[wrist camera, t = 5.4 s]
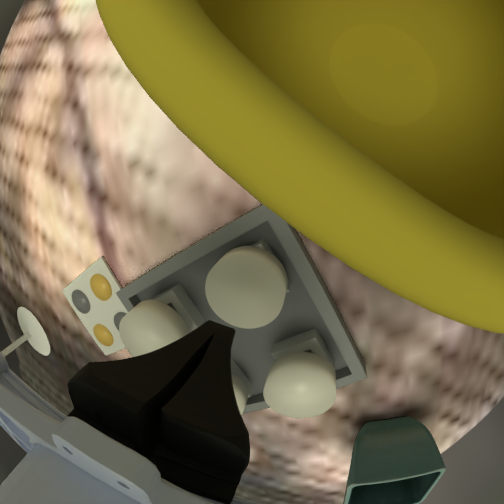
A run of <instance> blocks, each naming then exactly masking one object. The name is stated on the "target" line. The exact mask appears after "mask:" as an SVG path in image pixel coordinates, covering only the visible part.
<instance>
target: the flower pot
mask: <svg viewBox="0 0 504 504" xmlns="http://www.w3.org/2000/svg"><path fill="white" fill-rule="evenodd" d="M445 470H446V467H445V465H444V462H443V460H442V457H441V454H440V452H439V450H438V447H437V445H436V443H435V440H434V438H433V436H432V435H431V433H430V432H429V430H428V429H427V428H426V427H425V426H424V425H423V424H422V423H420V422H419V421H417V420H415V419H414V418H411V417H409V416H407V417H401V418H395V419H388V420H381V421H372V422H367V423H365V425H364V426H363V427H362V429H361V430H360V432H359V433H358V435H357V438H356V440H355V443H354V447H353V452H352V459H351V465H350V470H349V475H348V480H347V486H346V492H345V497H344V502H343V504H418V503H421V502H422V501H423V500H424V499H425V498H426V497H427V495H428V494H429V492H430V491H431V490H432V488H433V487H434V486H435V484H436V483H437V482H438V480H439V479H440V477H441V476H442V475H443V473H444V472H445Z"/></svg>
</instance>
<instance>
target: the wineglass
mask: <svg viewBox="0 0 504 504" xmlns="http://www.w3.org/2000/svg"><path fill="white" fill-rule="evenodd" d="M17 317H18V321H19V325H20V327H21V330H22V332H23V333H24V335H23V336H22V337H20V338H19V339H18V340H16V341H15V342H14V343H12V344H11V345H10V346H8V347H7V348H6V349H4V350H3V351H2V352H1V353H2V354H3V356H4V357H5V356H6V355H7V354H9V353H10V352H12V351H13V350H14V349H15V348H17V347H18V346H19V345H21V344H22V343H23V342H25V341H26V340H28V341H29V343H30V344H31V345H32V346H33V348H34V349H35V350H37V351H38V352H39V353H40V354H42V355H45V356H46V355H49V354H50V345H49V341H48V339H47V336H46V334H45V332H44V330H43V328H42V326H41V325H40V323H39V322H38V320H37V319H36V318H35V316H34V315H33V314H32V313H31V312H30V311H29V310H27V309H26V308H24V307H19V308H18V310H17Z"/></svg>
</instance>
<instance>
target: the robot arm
mask: <svg viewBox="0 0 504 504" xmlns="http://www.w3.org/2000/svg"><path fill="white" fill-rule="evenodd" d="M235 332H236V331H235V329H234V328H231V327H228V326H225V325H222V324H219V323H216V322H214V321H211V320H208V321H206V322H205V323H203V324H202V325H201V326H199V327H198V328H196V329H195V330H193V331H192V332H190V333H188V334H187V335H185V336H183V337H182V338H180V339H178V340H176V341H174V342H172V343H170V344H168V345H166V346H164V347H162V348H160V349H157V350H155V351H152V352H149V353H146V354H143V355H140V356H136V357H132V358H127V359H122V360H116V361H107V362H89V363H88V364H87V365H85V366H84V367H83V368H82V369H81V370H80V371H79V372H78V373H77V374H76V375H75V376H74V377H73V378H72V379H71V380H70V381H69V382H68V389H69V394H70V397H71V400H72V403H73V406H74V409H73V410H72V412H71V413H70V414H69V415H68V416H65V415H64V414H63V413H61V412H60V411H59V410H57V409H56V408H55V407H53V406H52V405H51V404H49V403H48V402H47V401H46V400H44V399H43V398H42V397H41V396H40V395H38V394H37V393H36V392H35V391H34V390H32V389H31V388H30V387H29V386H28V385H27V384H26V383H24V382H23V381H22V380H21V379H20V378H19V377H18V376H17V375H16V374H15V373H13V372H12V371H11V370H10V369H9V368H8V364H7V361H6V359H5V357H4V356H3V354H2V353H1V352H0V425H1V426H2V427H3V428H4V429H5V430H6V432H7V433H8V434H9V435H10V436H11V437H12V438H13V439H14V440H15V441H16V442H17V443H18V444H19V445H20V446H21V447H22V448H23V449H24V450H25V451H26V452H27V453H28V454H27V455H26V456H25V457H24V459H23V460H22V461H21V462H20V463H19V464H18V465H17V467H16V468H15V469H14V470H13V471H12V472H11V474H10V475H9V476H8V477H7V478H6V479H5V481H4V482H3V483H2V484H1V485H0V504H262V503H257V502H253V501H249V500H245V499H241V498H237V497H234V495H235V491H236V488H237V485H238V484H239V482H240V479H241V475H242V474H243V472H244V470H245V469H246V467H247V466H248V463H249V459H250V442H249V433H248V430H247V428H246V426H245V424H244V422H243V419H242V417H241V414H240V411H239V408H238V405H237V401H236V398H235V393H234V388H233V383H232V375H231V347H232V343H233V340H234V336H235Z"/></svg>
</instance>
